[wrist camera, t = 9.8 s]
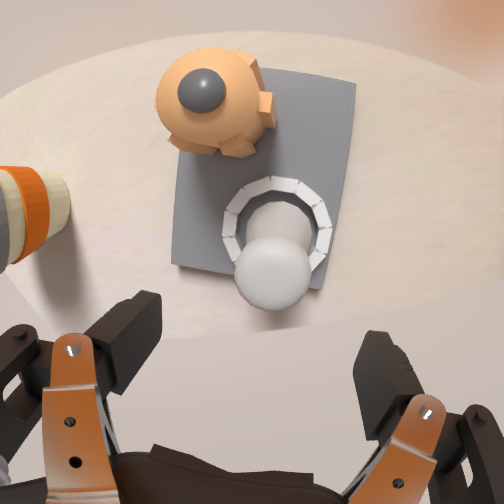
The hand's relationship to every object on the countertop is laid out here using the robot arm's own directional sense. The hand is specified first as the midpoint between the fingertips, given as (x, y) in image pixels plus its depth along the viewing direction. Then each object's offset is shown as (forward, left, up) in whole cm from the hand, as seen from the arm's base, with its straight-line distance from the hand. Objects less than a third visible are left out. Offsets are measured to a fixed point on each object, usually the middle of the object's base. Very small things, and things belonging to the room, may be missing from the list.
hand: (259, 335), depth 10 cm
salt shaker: (0, 0, -18) cm, 18 cm away
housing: (+3, -5, -20) cm, 20 cm away
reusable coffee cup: (+32, +1, -20) cm, 37 cm away
